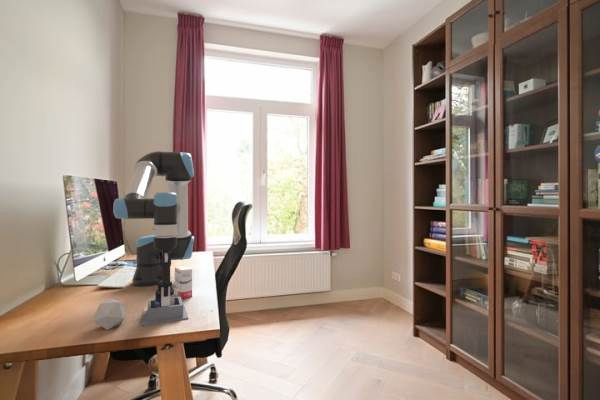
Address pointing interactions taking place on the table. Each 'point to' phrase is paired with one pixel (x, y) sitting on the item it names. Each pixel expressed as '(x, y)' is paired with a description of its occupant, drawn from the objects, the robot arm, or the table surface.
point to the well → (164, 313)
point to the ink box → (183, 282)
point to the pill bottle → (158, 296)
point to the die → (110, 314)
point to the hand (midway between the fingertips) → (165, 302)
